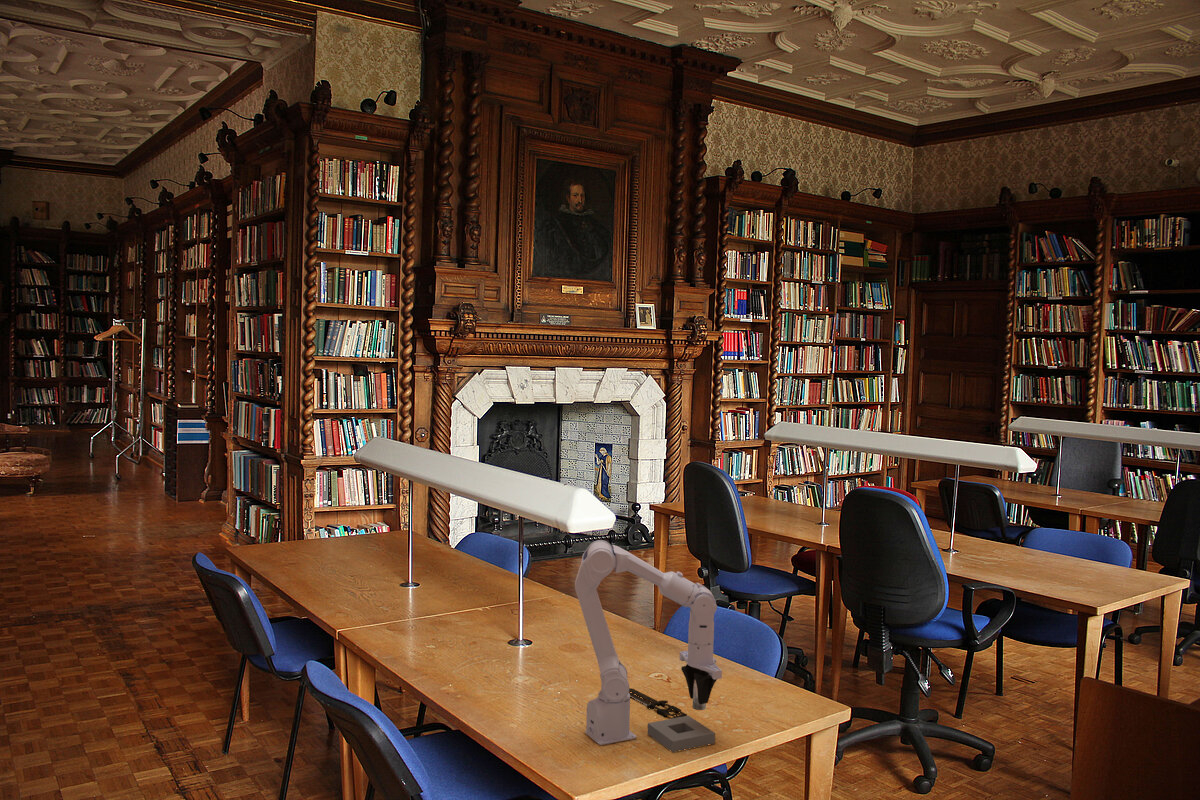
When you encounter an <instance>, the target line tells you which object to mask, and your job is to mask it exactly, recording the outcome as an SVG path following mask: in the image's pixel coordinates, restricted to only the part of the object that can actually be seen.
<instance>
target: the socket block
mask: <svg viewBox="0 0 1200 800" xmlns="http://www.w3.org/2000/svg"><path fill="white" fill-rule="evenodd" d="M672 718H673V717H672ZM672 718H667V719H664V720H663V719H662V720H658V721H651V722H648V723H647V735H648V736H650V737H651V738H652V739H654V740H655V741H656V742H658V743H659V744H660V745H662V746H663V747H664V746H665V747H664V748H665V749H667V748H668V749H669V751H670V750H671V751H672V752H673V753H676V752H675V751H678V752H680V751H679V750H683V751H685V750H684V749H688V750H690V749H689V748H693V749H695V748H694V747H698V748H700V747H699V746H702V747H704V746H703V745H707V746H709V745H708V744H712V745H714V744H713V743H715V744H716V732H715V731H713V730H711V729H710V728H709V727H707V726H705V725H704V724H702V723H701V722H699V721H697V720H696V719H695V718H693V717H692V716H690V715H687V716H684V717H678V718H673V719H672ZM668 749H667V750H668ZM671 751H670V752H671ZM672 752H671V753H672Z"/></svg>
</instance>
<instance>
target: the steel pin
mask: <svg viewBox="0 0 1200 800" xmlns="http://www.w3.org/2000/svg"><path fill="white" fill-rule="evenodd" d="M706 705H707V703H705V704H699V702H698V690H697V684H696V680H695V678H694V686H693V699H692V708H693V710H696V711H704V710H706V708H707V706H706Z"/></svg>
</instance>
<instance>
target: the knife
mask: <svg viewBox="0 0 1200 800" xmlns="http://www.w3.org/2000/svg"><path fill="white" fill-rule="evenodd" d="M630 692H632V693H630ZM629 694H630V697H632V698H634V699H635V700H634V699H633V700H634V701H636V700H638V701H640V702H641V703H640V702H639V703H640V704H642V703H643V704H642V705H643V706H646V709H649V708H650V709H649V710H653V709H654V710H656V714H657V715H659V716H661V717H663V718H666V716H670V717H671V719H673V718H678V717H684V716H688V714H687V713H684V712H683V711H682V709H680V708H679V707H677V706H674V705H671V704H669V700H663V699H662V700H656V699H655V698H653V697H650V696H648V695H646V694H644V693H643V692H640V691H639V690H637V689H635V688H630V687H629ZM634 694H636V695H637V696H636V695H634ZM638 696H639V697H638ZM640 697H642V698H643V699H642V698H640ZM632 698H631V699H632ZM644 699H645V700H644ZM638 701H637V702H638ZM650 702H651V703H650ZM656 705H657V706H656ZM660 707H662V708H660ZM664 707H666V708H664ZM672 709H673V710H672ZM676 711H677V712H676ZM669 712H671V713H669ZM673 712H676V713H673ZM678 712H680V713H678ZM672 713H673V714H672Z"/></svg>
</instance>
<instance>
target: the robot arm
mask: <svg viewBox="0 0 1200 800" xmlns="http://www.w3.org/2000/svg"><path fill="white" fill-rule="evenodd" d="M613 571H615V572H614V573H615V574H619V573H623V572H624V573H625V572H629V573H631V574H632V575H635V576H637V577H638V578H641V579H643V580H645V581H647V582H649V583H651V584H654V585H655V586H657V587H658V590H659V591H658V592H659V593H660V594H661V595H662V596H664V597H666V598H667V599H669V600H671V601H674V602H675V603H677V604H679V605H680V606H682V607H684V608H690V609H689V620H688V639H687V640H688V641H687V643H688V644H687V650H684V651H683V650H682V651H679V661H681V662H685V663H686V665H684V666H681V668H680V669H681V672H682V674H683V676H684V679H685V681H686V685H687V689H688V694H689V698H690V699H692V700H693V686H694V678H695V680H696V684H697V690H698V702H699V704H705V703H706V704H708V703H709V701H710V696H711V694H712V690H713V687H714V685H715V684H716V682H717V680H720V679H722V677H723V670H722V669H721V668H720V667H718V665H717V664H716V663H717V658H715V657H714V642H715V641H714V638H715V637H714V636H715V621H714V618H715V614H716V612H717V608H718V605H717V602H716V601H717V600H716V599H715V597H714V595H713V593H712V591H711V590H710V589H708V588H707V587H706V586H705V585H702V584H701V583H699V582H696V583H694V582H693V581H691V580H689V579H687V578H686V577H683V576H684V574H683V573H682V572H681V571H676V572H675V571H668V572H663V571H661V570H660V569H658V568H657V567H654V566H653V565H651V564H649V563H648V562H646V561H644V560H643V559H641V558H639V557H638V556H636V555H634V554H633V553H631V552H629V551H627V550H625V549H624V548H621V546H617V545H616V544H615V545H614V544H613V545H612V544H611V543H609V542H608V541H606V540H604V539H603V540H602V539H598V540H595V541H593V542H591V543H590V544H589V545H588V547H587V548H586V550H585V551H584V552H583V553H582V557H581V561H580V565H579V568H578V571H577V573H576V577H575V581H574V590H575V593H576V596H577V599H578V602H579V606H580V609H581V612H582V613H581V614H582V615H583V618H584V623H585V626H586V628H587V631H588V634H589V637H590V640H591V644H592V647H593V650H594V653H595V654H594V655H595V656H596V660H597V664H598V668H599V672H600V673H599V677H600V681H601V682H600V683H601V686H600V687H601V689H600V691H598V696H597V697H596V698H593V699H591V700H589V701H588V702H587V703H586V704H587V705H586V722H585V723H586V727H585V728H586V729H585V730H584V733H585V734H586V735H587V737H590V739H592V740H593V741H594V742H595V743H597V744H598V745H599V746H603V745H609V744H613V743H614V744H615V743H619V742H624V741H629V740H633V739H637V737H638V736H637V735H636V734H635V733H634V732H632V731H631V730H630V724H631V723H630V722H631V719H630V716H631V698H630V694H629V688H630V682H629V680H628V679H629V678H628V670H627V668H626V666H625V665H624V664H623V663H622V662H621V660H620V659H619V655H618V652H617V650H616V647H615V645H614V641H613V639H612V634H611V632H610V628H609V626H608V622H607V619H606V616H605V612H604V610H603V605H602V603H601V600H600V596H599V593H598V590H597V589H598V587H599V585H600V583H601V582H602V581H603V579H604V578H606V577H607V576H608V575H610V574H611V573H612V572H613Z"/></svg>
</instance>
